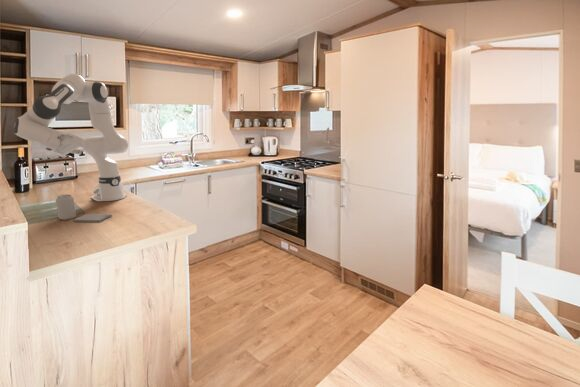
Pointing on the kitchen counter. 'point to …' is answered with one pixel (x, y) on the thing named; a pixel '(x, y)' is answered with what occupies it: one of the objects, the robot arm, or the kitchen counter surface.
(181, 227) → the kitchen counter surface
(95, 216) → the slate tile
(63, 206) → the can
